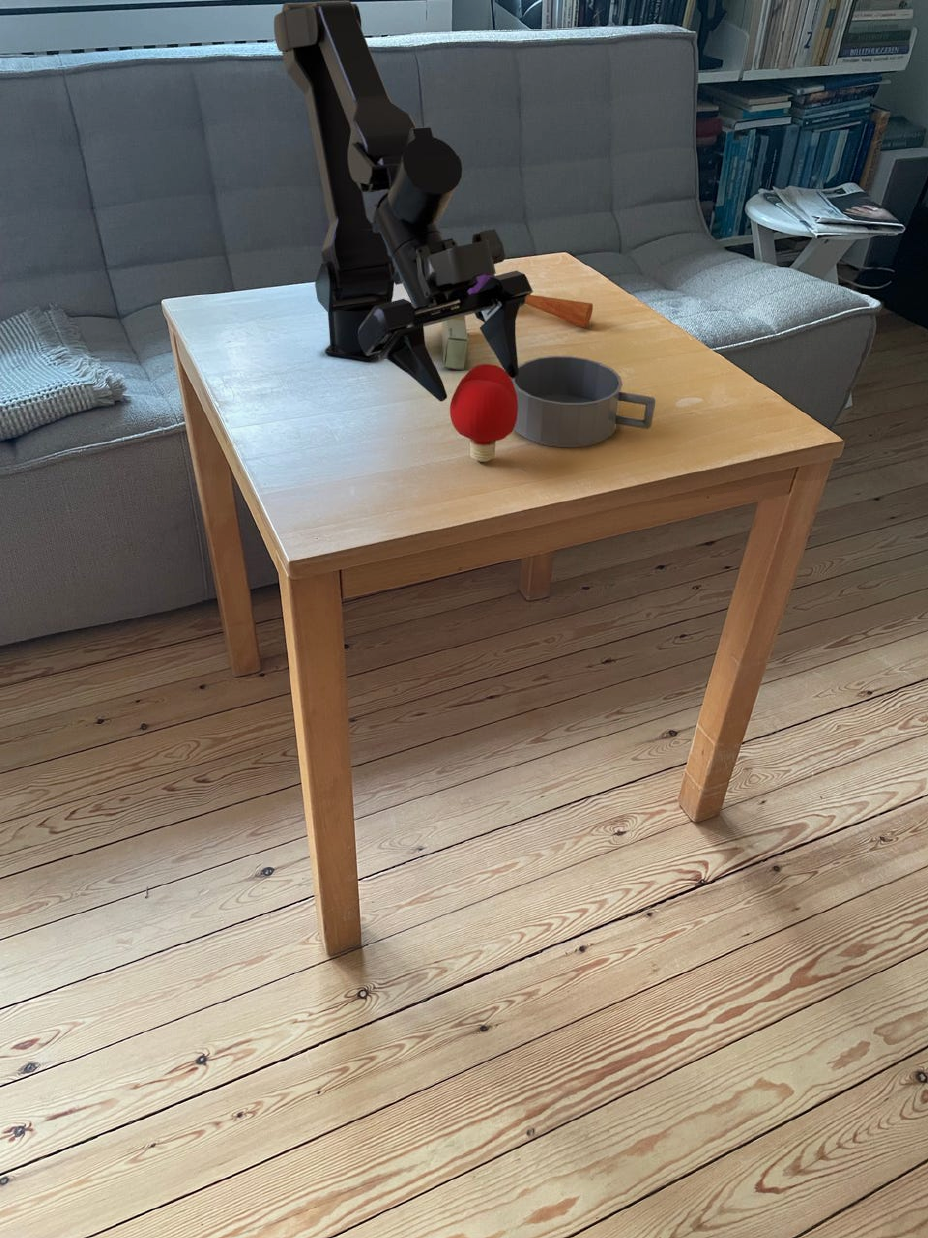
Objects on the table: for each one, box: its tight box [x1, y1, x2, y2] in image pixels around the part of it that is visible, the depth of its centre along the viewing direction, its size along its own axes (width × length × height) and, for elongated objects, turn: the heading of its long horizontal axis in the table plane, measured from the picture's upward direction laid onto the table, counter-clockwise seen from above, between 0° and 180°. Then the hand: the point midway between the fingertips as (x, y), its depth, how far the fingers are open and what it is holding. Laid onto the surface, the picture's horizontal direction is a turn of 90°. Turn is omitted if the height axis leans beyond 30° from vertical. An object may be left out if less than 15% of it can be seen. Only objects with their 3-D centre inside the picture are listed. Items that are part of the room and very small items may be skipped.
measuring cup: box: [511, 355, 657, 448], centre depth 105 cm, size 16×12×5 cm
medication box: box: [440, 306, 469, 371], centre depth 120 cm, size 12×3×4 cm, turn 3°
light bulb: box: [449, 363, 518, 464], centre depth 97 cm, size 9×7×10 cm
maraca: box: [468, 274, 594, 329], centre depth 130 cm, size 6×6×20 cm
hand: (480, 387), depth 95 cm, fingers open, 9 cm apart
